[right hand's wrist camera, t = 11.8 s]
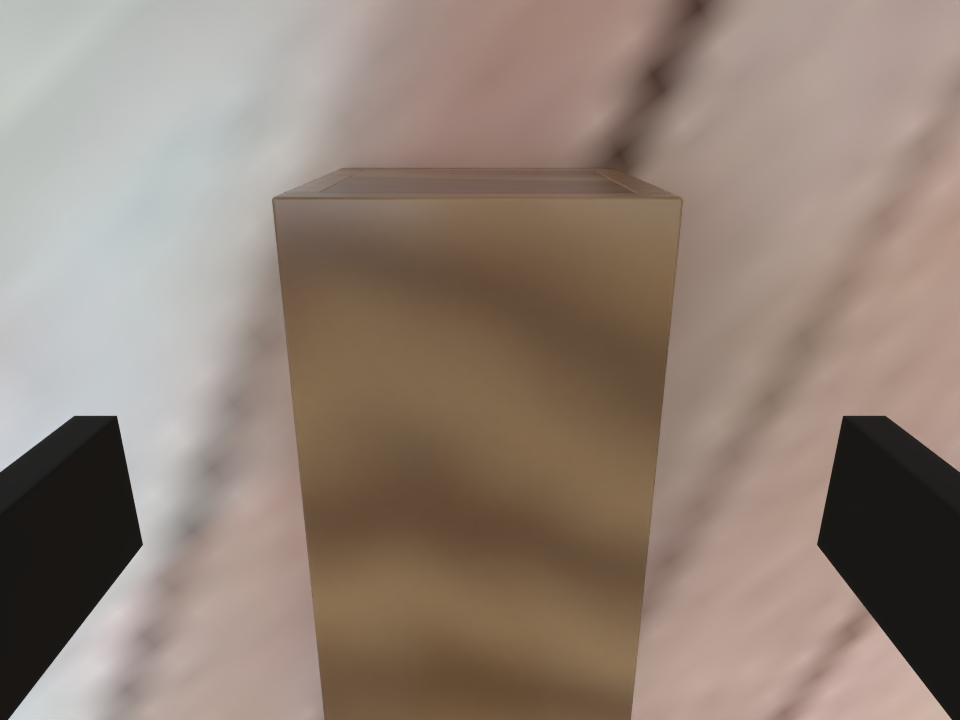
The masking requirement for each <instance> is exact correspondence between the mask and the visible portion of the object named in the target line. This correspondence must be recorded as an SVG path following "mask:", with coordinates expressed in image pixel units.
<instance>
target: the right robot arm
mask: <svg viewBox="0 0 960 720" xmlns="http://www.w3.org/2000/svg"><path fill="white" fill-rule="evenodd" d="M142 545H143V543H142V538H141V533H140V528H139V523H138V518H137V513H136V508H135V503H134V498H133V493H132V489H131V484H130V479H129V474H128V469H127V464H126V459H125V454H124V449H123V444H122V439H121V434H120V429H119V424H118V419H117V416H74V417H72V418H71V419H70V420H68V421H67V422H66V423H65V424H63V425H62V426H61V427H59V428H58V429H57V430H55V431H54V432H53V433H51V434H50V435H49V436H47V437H46V438H45V439H43V440H42V441H41V442H40V443H38V444H37V445H36V446H34V447H33V448H32V449H30V450H29V451H28V452H26V453H25V454H24V455H22V456H21V457H20V458H19V459H17V460H16V461H15V462H13V463H12V464H11V465H9V466H8V467H7V468H5V469H4V470H3V471H1V472H0V720H8V719H9V718H10V716H11V715H12V714H13V713H14V711H15V710H16V709H17V707H18V706H19V705H20V703H21V702H22V701H23V700H24V698H25V697H26V696H27V694H28V693H29V692H30V691H31V689H32V688H33V687H34V685H35V684H36V683H37V681H38V680H39V679H40V678H41V676H42V675H43V674H44V672H45V671H46V670H47V668H48V667H49V666H50V665H51V663H52V662H53V661H54V659H55V658H56V657H57V656H58V654H59V653H60V652H61V650H62V649H63V648H64V646H65V645H66V644H67V643H68V641H69V640H70V639H71V637H72V636H73V635H74V633H75V632H76V631H77V630H78V628H79V627H80V626H81V624H82V623H83V622H84V621H85V619H86V618H87V617H88V615H89V614H90V613H91V611H92V610H93V609H94V608H95V606H96V605H97V604H98V602H99V601H100V600H101V598H102V597H103V596H104V595H105V593H106V592H107V591H108V589H109V588H110V587H111V585H112V584H113V583H114V582H115V580H116V579H117V578H118V576H119V575H120V574H121V573H122V571H123V570H124V569H125V567H126V566H127V565H128V563H129V562H130V561H131V560H132V558H133V557H134V556H135V554H136V553H137V552H138V550H139V549H140V548H141V547H142ZM817 545H818V547H819V548H820V549H821V550H822V552H823V553H824V554H825V556H826V557H827V558H828V560H829V561H830V562H831V563H832V565H833V566H834V567H835V569H836V570H837V571H838V573H839V574H840V575H841V576H842V578H843V579H844V580H845V582H846V583H847V584H848V585H849V587H850V588H851V589H852V591H853V592H854V593H855V595H856V596H857V597H858V598H859V600H860V601H861V602H862V604H863V605H864V606H865V608H866V609H867V610H868V611H869V613H870V614H871V615H872V617H873V618H874V619H875V621H876V622H877V623H878V624H879V626H880V627H881V628H882V630H883V631H884V632H885V633H886V635H887V636H888V637H889V639H890V640H891V641H892V643H893V644H894V645H895V646H896V648H897V649H898V650H899V652H900V653H901V654H902V656H903V657H904V658H905V659H906V661H907V662H908V663H909V665H910V666H911V667H912V668H913V670H914V671H915V672H916V674H917V675H918V676H919V678H920V679H921V680H922V681H923V683H924V684H925V685H926V687H927V688H928V689H929V691H930V692H931V693H932V694H933V696H934V697H935V698H936V700H937V701H938V702H939V703H940V705H941V706H942V707H943V709H944V710H945V711H946V713H947V714H948V715H949V716H950V718H951V719H952V720H960V472H959V471H957V470H956V469H955V468H953V467H952V466H951V465H949V464H948V463H947V462H945V461H944V460H943V459H941V458H940V457H939V456H938V455H936V454H935V453H934V452H932V451H931V450H930V449H928V448H927V447H926V446H924V445H923V444H922V443H920V442H919V441H918V440H917V439H915V438H914V437H913V436H911V435H910V434H909V433H907V432H906V431H905V430H903V429H902V428H901V427H899V426H898V425H897V424H895V423H894V422H893V421H892V420H890V419H889V418H888V417H886V416H843V419H842V424H841V429H840V434H839V439H838V444H837V449H836V454H835V459H834V464H833V469H832V474H831V479H830V484H829V489H828V493H827V498H826V503H825V508H824V513H823V518H822V523H821V528H820V533H819V538H818V543H817Z"/></svg>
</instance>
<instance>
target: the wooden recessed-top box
mask: <svg viewBox="0 0 960 720" xmlns="http://www.w3.org/2000/svg"><path fill="white" fill-rule="evenodd" d="M272 203H273V213H274V223H275V233H276V243H277V253H278V263H279V273H280V282H281V292H282V302H283V312H284V322H285V332H286V342H287V352H288V362H289V372H290V382H291V391H292V401H293V411H294V421H295V431H296V441H297V451H298V461H299V471H300V481H301V490H302V500H303V510H304V520H305V530H306V540H307V550H308V560H309V570H310V580H311V590H312V599H313V609H314V619H315V629H316V639H317V649H318V659H319V669H320V679H321V689H322V698H323V708H324V718H325V720H631V712H632V702H633V692H634V682H635V672H636V662H637V652H638V642H639V632H640V622H641V612H642V602H643V593H644V583H645V573H646V563H647V553H648V543H649V533H650V523H651V513H652V503H653V493H654V483H655V473H656V463H657V453H658V443H659V433H660V423H661V413H662V403H663V393H664V384H665V374H666V364H667V354H668V344H669V334H670V324H671V314H672V304H673V294H674V284H675V274H676V264H677V254H678V244H679V234H680V224H681V214H682V204H683V199H682V198H681V197H678V196H676V195H674V194H671V193H669V192H667V191H665V190H662V189H660V188H658V187H655V186H653V185H651V184H648V183H646V182H644V181H641V180H639V179H637V178H634V177H632V176H630V175H627V174H625V173H623V172H620V171H618V170H616V169H614V168H342V169H339V170H337V171H335V172H332V173H330V174H327V175H325V176H323V177H320V178H318V179H316V180H313V181H311V182H309V183H306V184H304V185H301V186H299V187H297V188H294V189H292V190H290V191H287V192H285V193H283V194H281V195H278V196H276V197H274V198H273V199H272Z"/></svg>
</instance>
